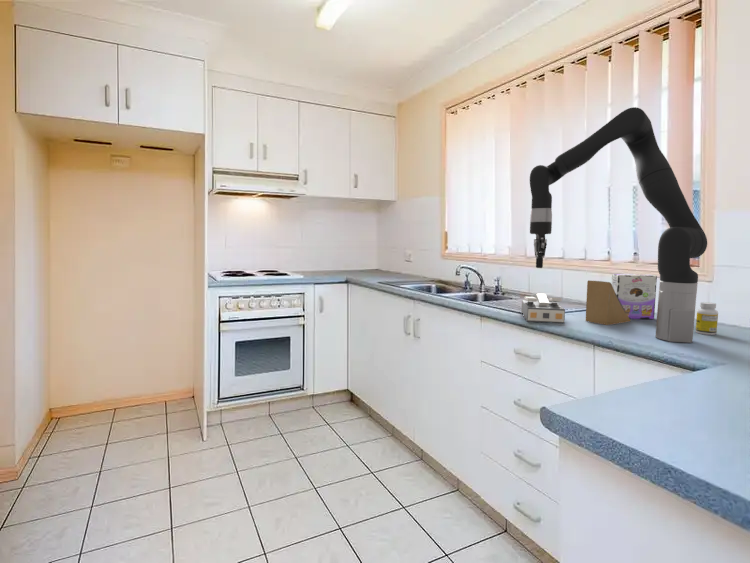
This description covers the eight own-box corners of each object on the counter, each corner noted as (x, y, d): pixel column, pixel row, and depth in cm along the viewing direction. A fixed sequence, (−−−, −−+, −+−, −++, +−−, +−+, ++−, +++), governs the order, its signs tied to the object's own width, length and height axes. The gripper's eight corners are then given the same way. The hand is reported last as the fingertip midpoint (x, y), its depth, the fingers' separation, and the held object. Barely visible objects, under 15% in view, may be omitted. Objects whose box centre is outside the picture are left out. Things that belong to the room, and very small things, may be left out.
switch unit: (564, 323, 154) (565, 307, 153) (527, 321, 157) (528, 305, 156) (554, 314, 172) (555, 299, 171) (521, 312, 175) (522, 298, 174)
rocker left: (536, 301, 160) (536, 298, 160) (527, 301, 161) (527, 297, 161) (533, 299, 169) (533, 296, 169) (524, 299, 170) (524, 296, 169)
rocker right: (561, 301, 158) (561, 297, 158) (552, 300, 159) (552, 297, 159) (556, 302, 167) (556, 299, 167) (547, 301, 168) (547, 298, 168)
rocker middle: (548, 305, 159) (549, 302, 159) (539, 305, 160) (539, 302, 160) (545, 296, 168) (545, 293, 167) (536, 296, 168) (536, 293, 168)
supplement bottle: (695, 330, 145) (698, 301, 144) (716, 333, 142) (719, 302, 141) (694, 333, 141) (697, 303, 140) (716, 336, 137) (719, 304, 136)
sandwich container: (632, 321, 161) (635, 280, 159) (607, 325, 153) (610, 282, 151) (609, 317, 168) (611, 278, 166) (584, 321, 160) (587, 279, 158)
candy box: (646, 316, 170) (649, 274, 168) (654, 319, 164) (658, 275, 162) (608, 315, 171) (611, 273, 170) (615, 318, 166) (618, 274, 164)
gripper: (555, 220, 157) (553, 269, 159) (548, 222, 170) (546, 267, 171) (533, 220, 158) (531, 268, 160) (527, 222, 171) (526, 266, 173)
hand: (539, 267), depth 166 cm, fingers closed
